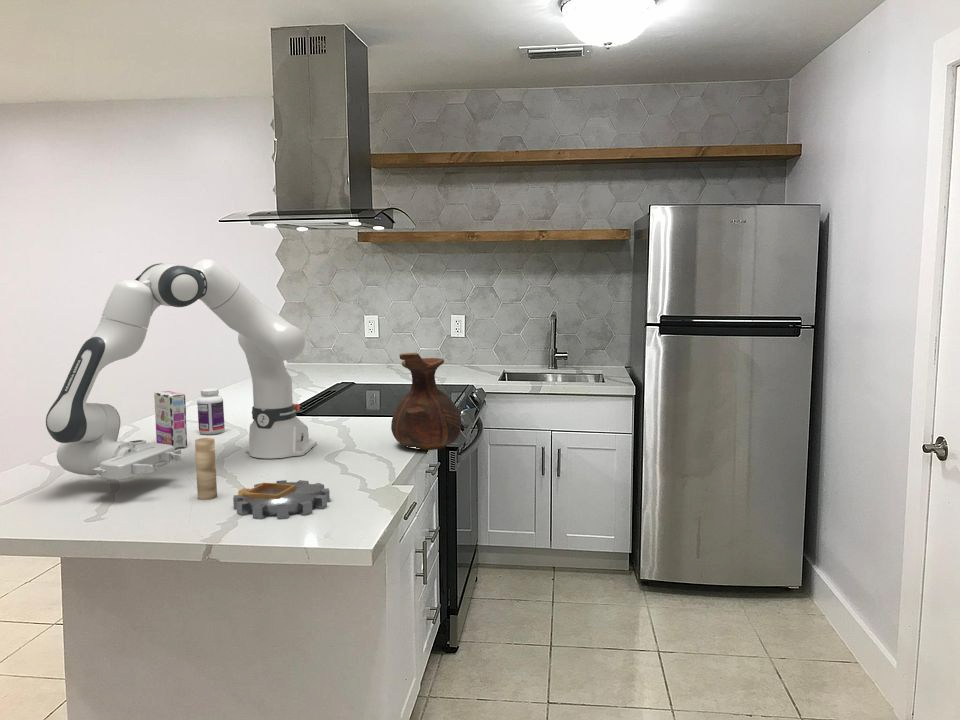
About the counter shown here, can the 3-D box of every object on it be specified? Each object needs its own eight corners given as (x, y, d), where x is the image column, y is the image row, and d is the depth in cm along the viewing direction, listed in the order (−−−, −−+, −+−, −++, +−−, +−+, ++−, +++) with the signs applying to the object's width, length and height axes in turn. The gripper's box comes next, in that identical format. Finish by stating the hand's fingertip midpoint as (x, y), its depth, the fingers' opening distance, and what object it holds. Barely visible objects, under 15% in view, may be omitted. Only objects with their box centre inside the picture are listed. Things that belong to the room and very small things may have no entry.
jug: (379, 443, 241) (377, 347, 237) (441, 435, 251) (441, 343, 247) (408, 458, 222) (406, 354, 218) (474, 449, 232) (474, 350, 229)
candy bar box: (188, 447, 235) (186, 394, 233) (172, 450, 231) (169, 396, 229) (171, 441, 242) (168, 390, 240) (155, 444, 239) (153, 392, 237)
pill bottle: (224, 429, 260) (222, 387, 258) (224, 434, 252) (222, 390, 250) (199, 431, 257) (197, 388, 255) (198, 436, 250) (196, 392, 248)
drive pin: (204, 493, 189) (202, 437, 187) (220, 494, 188) (218, 438, 186) (193, 498, 184) (191, 441, 183) (210, 500, 183) (207, 442, 181)
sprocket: (265, 487, 194) (264, 474, 194) (344, 493, 188) (344, 480, 188) (214, 514, 173) (213, 499, 173) (302, 522, 168) (301, 507, 167)
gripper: (86, 457, 181) (136, 461, 178) (145, 438, 201) (191, 441, 197) (88, 483, 182) (138, 488, 178) (147, 461, 202) (193, 465, 198)
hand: (167, 463), depth 188 cm, fingers open, 8 cm apart
